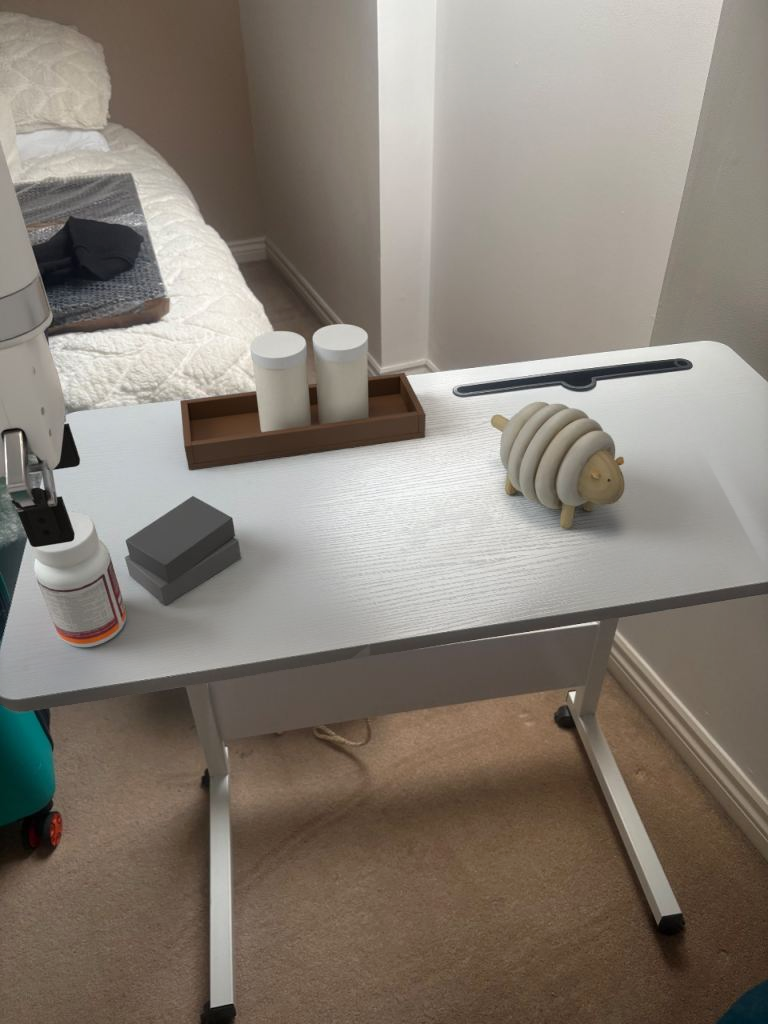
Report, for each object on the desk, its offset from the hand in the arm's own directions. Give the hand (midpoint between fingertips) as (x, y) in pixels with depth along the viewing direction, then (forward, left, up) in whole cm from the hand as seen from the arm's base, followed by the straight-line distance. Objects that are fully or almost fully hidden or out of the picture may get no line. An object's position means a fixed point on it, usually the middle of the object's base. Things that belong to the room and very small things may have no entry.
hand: (57, 502), depth 67 cm
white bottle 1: (+27, +21, -13) cm, 36 cm away
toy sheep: (+47, -3, -14) cm, 50 cm away
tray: (+29, +21, -14) cm, 38 cm away
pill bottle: (0, 0, -14) cm, 14 cm away
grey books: (+9, +4, -14) cm, 17 cm away
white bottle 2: (+33, +19, -13) cm, 41 cm away
